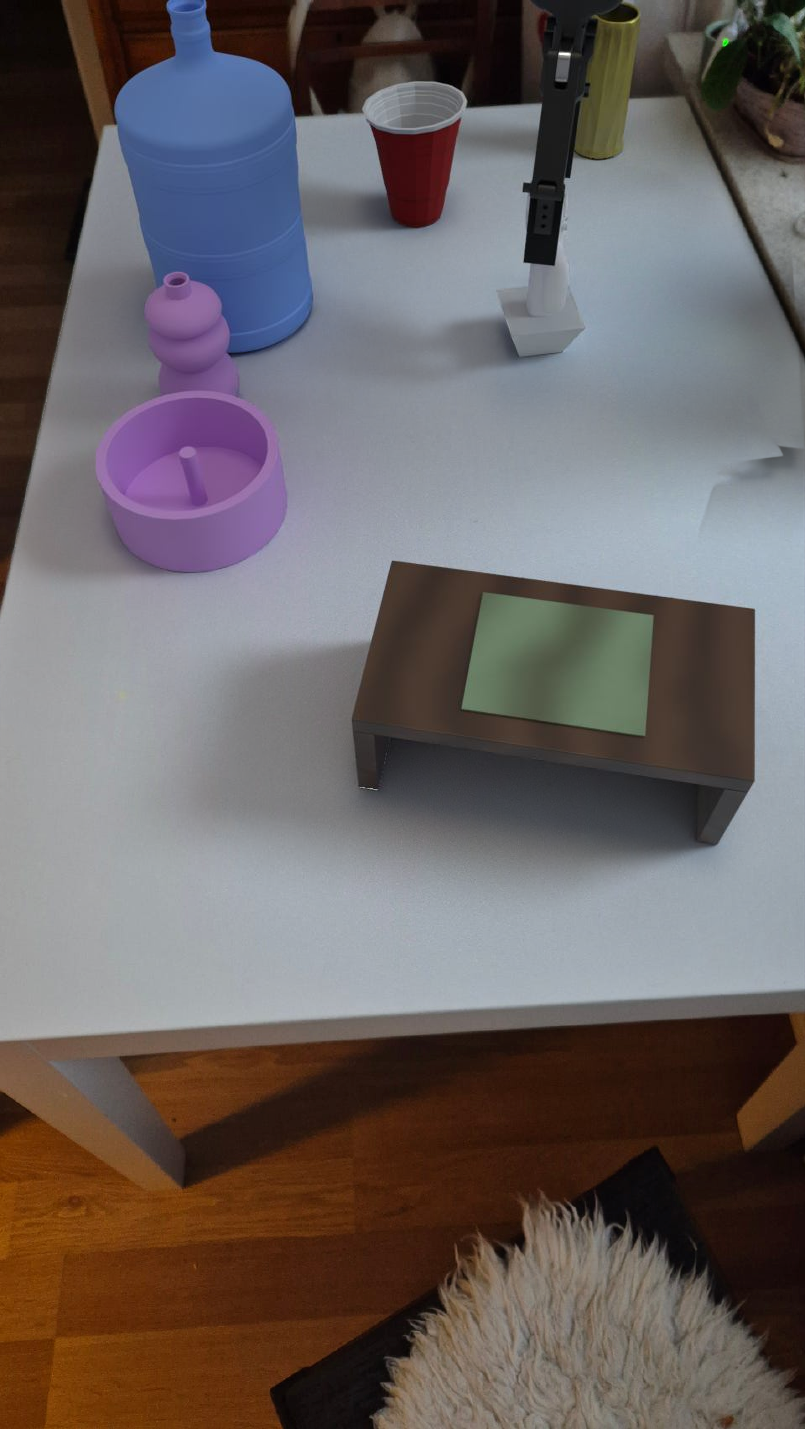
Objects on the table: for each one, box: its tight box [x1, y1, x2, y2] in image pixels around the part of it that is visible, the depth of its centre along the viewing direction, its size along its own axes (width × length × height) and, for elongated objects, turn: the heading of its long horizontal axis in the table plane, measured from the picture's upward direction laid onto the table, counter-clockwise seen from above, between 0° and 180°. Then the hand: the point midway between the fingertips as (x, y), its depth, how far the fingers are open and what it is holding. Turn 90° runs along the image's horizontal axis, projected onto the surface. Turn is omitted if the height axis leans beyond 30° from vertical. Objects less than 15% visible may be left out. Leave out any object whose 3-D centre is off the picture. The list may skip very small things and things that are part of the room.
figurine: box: [495, 179, 586, 358], centre depth 95 cm, size 7×9×15 cm
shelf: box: [351, 559, 756, 846], centre depth 72 cm, size 26×14×10 cm, turn 79°
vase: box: [574, 0, 642, 160], centre depth 114 cm, size 6×6×14 cm
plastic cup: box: [361, 81, 468, 228], centre depth 108 cm, size 11×11×12 cm
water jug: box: [114, 0, 314, 354], centre depth 93 cm, size 16×16×28 cm
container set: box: [94, 272, 288, 573], centre depth 87 cm, size 25×15×13 cm, turn 5°
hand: (547, 217), depth 90 cm, fingers open, 13 cm apart
